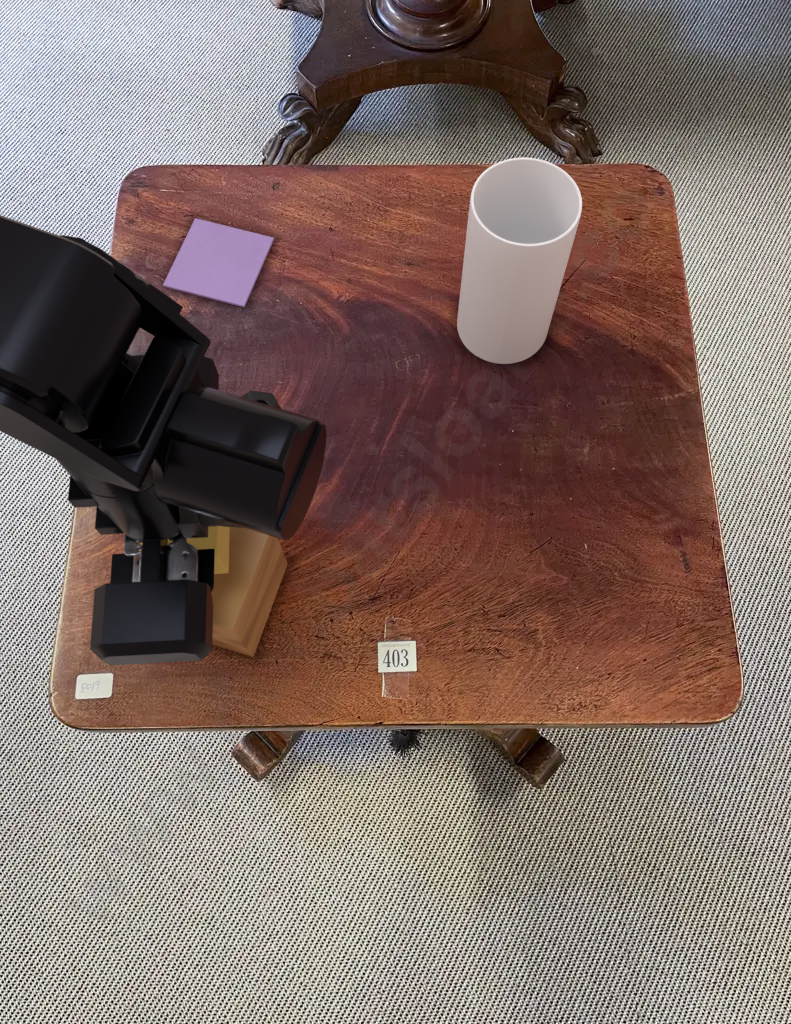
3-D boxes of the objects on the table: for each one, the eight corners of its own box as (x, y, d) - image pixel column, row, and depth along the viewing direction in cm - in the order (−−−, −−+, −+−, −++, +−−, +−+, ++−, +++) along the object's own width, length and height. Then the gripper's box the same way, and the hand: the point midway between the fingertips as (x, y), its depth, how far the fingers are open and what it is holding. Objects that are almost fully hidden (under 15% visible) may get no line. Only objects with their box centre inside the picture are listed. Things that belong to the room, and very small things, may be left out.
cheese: (153, 577, 57) (136, 558, 53) (156, 521, 58) (139, 498, 55) (228, 573, 57) (216, 554, 53) (229, 517, 58) (218, 494, 55)
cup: (551, 292, 79) (586, 163, 64) (543, 369, 76) (578, 252, 61) (462, 281, 79) (477, 151, 64) (451, 357, 76) (463, 239, 62)
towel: (163, 286, 79) (162, 284, 79) (195, 220, 82) (195, 217, 82) (244, 307, 78) (244, 306, 78) (274, 239, 81) (274, 237, 81)
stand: (158, 628, 68) (124, 596, 59) (196, 536, 70) (168, 494, 62) (253, 657, 67) (232, 629, 58) (288, 563, 69) (272, 524, 61)
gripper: (283, 617, 40) (314, 679, 54) (280, 283, 47) (309, 417, 61) (42, 630, 40) (138, 689, 54) (75, 293, 47) (152, 425, 61)
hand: (191, 547), depth 58 cm, fingers closed on cheese, 4 cm apart
